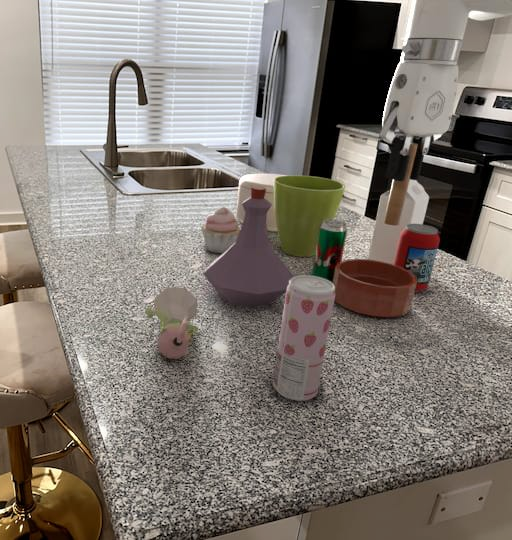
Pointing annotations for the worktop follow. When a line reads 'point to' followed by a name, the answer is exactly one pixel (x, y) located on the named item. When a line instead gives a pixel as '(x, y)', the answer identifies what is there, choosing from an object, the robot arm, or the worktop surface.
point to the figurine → (174, 320)
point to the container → (268, 183)
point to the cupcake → (220, 231)
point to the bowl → (374, 287)
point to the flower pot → (304, 210)
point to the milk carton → (389, 234)
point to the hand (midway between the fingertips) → (401, 177)
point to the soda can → (329, 248)
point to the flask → (250, 261)
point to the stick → (399, 192)
